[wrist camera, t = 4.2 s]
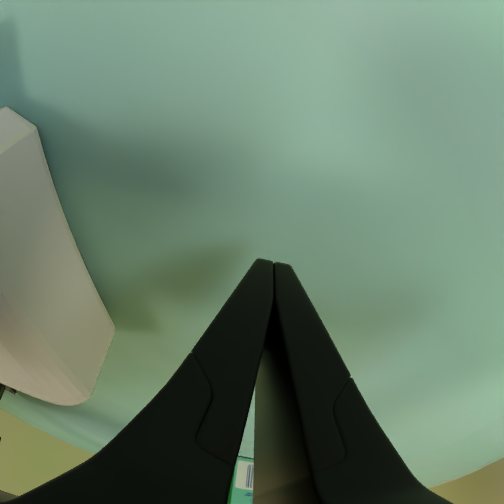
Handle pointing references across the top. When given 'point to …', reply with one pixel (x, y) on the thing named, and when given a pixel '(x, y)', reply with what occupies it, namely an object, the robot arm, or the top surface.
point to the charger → (43, 281)
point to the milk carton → (242, 482)
